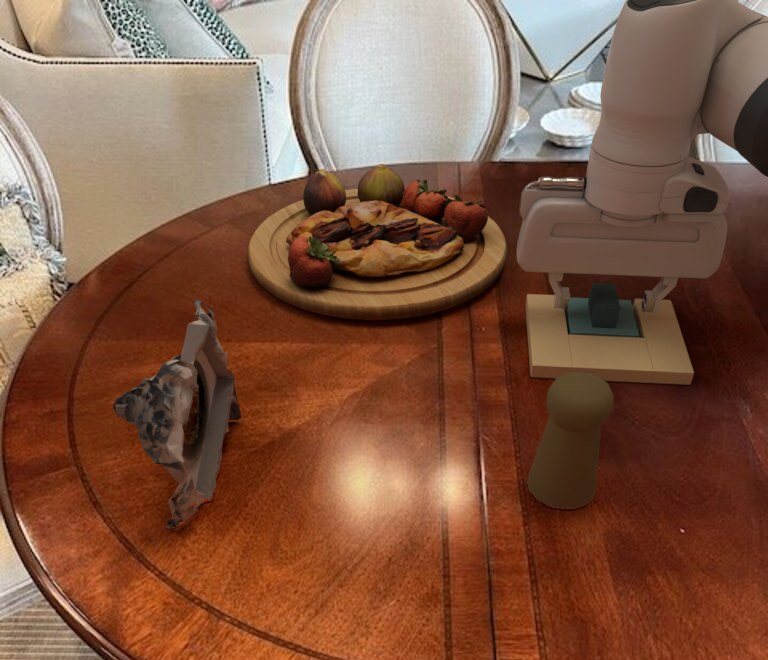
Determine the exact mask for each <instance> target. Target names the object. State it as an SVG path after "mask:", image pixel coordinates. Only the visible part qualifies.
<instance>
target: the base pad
mask: <svg viewBox="0 0 768 660" xmlns="http://www.w3.org/2000/svg"><path fill="white" fill-rule="evenodd" d="M642 299H643V298H634V300H633V304H632V308H633V312H634V316H635V320H636V324H637V328H638V332H639V338H635V337H613V336H591V335H568V332H567V324H566V317H565V310H564V309H556V308H554V304H553V302H554V294H533V293H527V295H526V299H525V320H526V331H527V332H526V333H527V346H528V347H527V348H528V359H529V361H528V363H529V373H530V374H529V375H530V378H537V379H538V378H541V379H557V378H558V377H560V376H562V375H563V374H566V373H570V372H586V373H590V374H593V375H597V376H598V377H600V378H602V379H604V380H605V381H606V382H622V383H638V384H639V383H641V384H642V383H643V384H662V385H663V384H664V385H683V386H684V385H685V386H687V385H688V386H690V385H691V384H692V381H693V378H694V375H695V371H694V367H693V365H692V362H691V358H690V355H689V353H688V350H687V345H686V342H685V340H684V337H683V334H682V331H681V327H680V324H679V321H678V318H677V315H676V312H675V308H674V305H673V302H672V300H671V299H661V301H660V305H659V308H658V311H657V313H655V312H643V311H642V310H643V309H642V307H641V303H642Z"/></svg>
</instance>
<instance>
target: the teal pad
mask: <svg viewBox="0 0 768 660" xmlns="http://www.w3.org/2000/svg"><path fill="white" fill-rule="evenodd" d="M568 304H569V306H568V309H564V310H565V317H566V324H567V332H568V335H591V336H613V337H635V338H639V332H638V328H637V324H636V320H635V316H634V312H633V304H632V300H631V299H619V295H618V291H617V287H616V283H604V282H603V283H602V282H600V283H599V282H592V283H591V287H590V292H589V295H588V297H570V300H569V302H568Z"/></svg>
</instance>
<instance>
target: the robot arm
mask: <svg viewBox="0 0 768 660" xmlns="http://www.w3.org/2000/svg"><path fill="white" fill-rule="evenodd" d="M615 23H616V24H615V26H614V29H613V34H612V37H611V40H610V44H609V49H608V53H607V57H606V62H605V67H604V72H603V77H602V83H601V87H600V88H601V89H600V106H601V107H600V108H601V110H600V112H601V113H600V118H599V122H598V125H597V127H596V129H595V132H594V134H593V136H592V140H591V145H590V150H589V157H588V161H587V168H586V174H585V176H583V177H582V176H581V177H580V176H566V177H553V176H540V177H538V178H537V180H534V181H531V182H530V183H528V184H526V185H525V187H524V188H523V189H522V191H521V193H520V197H519V207H518V213H519V216H520V217H521V219H522V221H521V225H520V229H519V233H518V238H517V244H516V262H517V264H518V266H519V267H520V268H521V270H522V271H524V272H526V273H547V278H548V283H549V284H550V287H551V289H552V291H553V293H554V294H553V295H554V302H553V304H554V308H556V309H568V306H569V304H568V302H569V300H570V298H571V293H570V287H569V286H562V283H561V282H562V281H563V278H564V274H574V275H575V274H577V275H600V276H628V277H630V276H631V277H651V278H652V277H656V278H660V281H659V282H658V283H657V284H656V285H655V286H654V288H653V289H652V290H644V291H643V295H642V296H643V298H641V299H642V303H641V307H642V309H643V310H642V311H643V312H655V313H657V311H658V308H659V305H660V301H661V300H664V298H665V297H666V296H667V295H669V294H670V292H671V291H672V290H674V289H675V288H676V287H677V285H678V281H679V280H678V279H679V278H680V279H682V278H683V279H701V280H702V279H703V280H704V279H709V278H710V277H711V276H712V275H714V274H715V273H716V272H717V271H718V270H719V268H720V266H721V264H722V263H721V262H722V259H723V255H724V252H725V247H726V242H727V236H728V222H727V218H726V216H725V214H724V212H725V211H726V210H727V208H728V206H729V203H730V200H731V194H730V190H729V187H728V185H727V182H726V181H725V178H724V177H723V175H722V174H721V173H720V171H719V170H718V169H717V168H716V167H715V166H714V165H711V164H710V163H707V162H704V161H701V160H698V159H697V158H693V157H691V156H689V154H690V149H691V144H692V141H693V140H694V138H696V136H698V135H705V134H710V135H711V136H712V137H713V138H715V139H717V140H719V141H720V142H722V143H723V144H725V145H726V146H728V147H730V148H731V149H733V150H734V151H736V152H737V153H738V154H739V155H740V157H742V158H743V159H744V160H745V161H746V162H747V163H749V164H750V165H751V166H752V167H754V168H755V169H756V171H758V172H760V174H761V175H763V176H765V177H767V178H768V16H767V15H764V14H762V13H759V12H757V11H755V10H754V9H751V8H749V7H747V6H746V5H744V4H742V3H741V2H739V1H738V0H625V1H624V4H623V5H622V8H621V10H620V13H619V15H618V18H617V21H616V22H615Z"/></svg>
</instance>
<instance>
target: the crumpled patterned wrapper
mask: <svg viewBox="0 0 768 660" xmlns="http://www.w3.org/2000/svg"><path fill="white" fill-rule="evenodd" d="M193 301H194V303H193V305H195V308H196V309H195V314H194V315H195V316H193V318H196V319H197V320H195V321H192V322H187V327H186V332H185V337H184V340H183V341H184V342H183V347H182V351H181V354H178V355H177V354H176V355H175V356H173V357H172V358H171V359H170V360H168V361H166V362H164V363H162V364H161V366H160V368H159V370H158V371H157V372H156V373H155V375H153V376H151V377H150V378H149V377H144V379H143V380H142V381H141V382H140V384H138V385H136V386H135V387H133V388H131V389H129V390H128V391H126V392H124V393H122V394H121V395H119V396H118V397H117V398H116V399H115V400H114V403H113V404H112V408H113V411H115V415H117V416H118V417H119V418H121V419H123V420H124V421H125V422H127V423H130V424H132V425H134V426H135V427H136V428H137V430H138V431H137V432H138V433H137V434H138V435H137V437H138V440H139V442H140V445H141V448H142V450H143V451H144V453H145V454H146V455H147V456H148V457H149V458H150V459H151V460H152V461H153V462H154V463H155V464H156V465H161V466H163V467H164V469H165V470H166V471H167V472H168V473H169V474H170V476H172V478H173V479H174V480H175V481H176V482H177V483H178V486H175V489H176V490H175V491H174V492H173V494H172V495H171V496H170V497H169V498H168V500H167V502H166V503H167V504H168V506H169V509H170V513H171V518H169V519H167V520H166V523H165V527H166V529H167V531H173V530H175V529H177V528H179V527H181V526H184V525H183V524H182V525H180V526H177V525H179V523H180V522H184V521H185V522H184V524H185V523H186V522H188V521H189V520H190V519H191V518H192V517H193V516H194V515H195V514H196V513H198V512H199V511H200V509H199V508H198V507H199V506H200V505H201V503H202V500H203V499H204V498H205V499H210V497H212V494H213V490H214V489H215V488H216V489H217V483H216V478H217V479H218V476H217V475H219V473H220V468H221V462H222V458H223V444H224V439H225V435H226V434H227V433H228V432H229V431H230V429H229V424H228V420H237V421H239V420H241V419H242V414H241V408H240V403H239V399H238V395H237V392H236V384H235V381H236V378H235V373H233V372H232V371H231V370H229V369H228V351H229V350H226V351H225V350H224V349H223V347H222V345H221V343H220V341H219V339H218V337H217V332H219V329H218V327H217V321H216V319H215V311H214V310H213V309H212V308H211V307H209V306H208V305H207V304H206V303H204V302H203V301H202V300H199V299H196V298H193ZM201 304H203V305H204V306H205V307H206V308H207V310H208V311H209V312H208V313H206V311H205V310H204V309H203V307H202V306H201ZM202 504H203V503H202ZM176 526H177V527H176ZM173 527H175V528H173Z"/></svg>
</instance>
